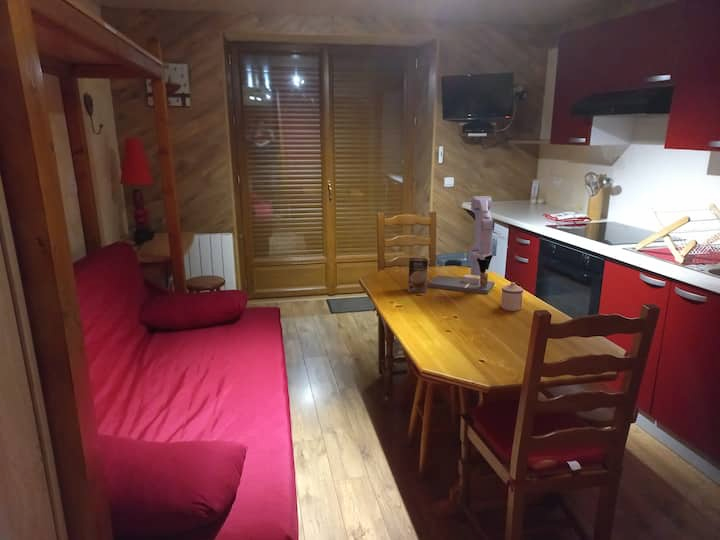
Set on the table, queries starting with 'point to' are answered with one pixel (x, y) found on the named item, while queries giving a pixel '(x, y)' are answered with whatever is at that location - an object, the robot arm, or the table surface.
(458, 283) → the subfloor board
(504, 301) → the teacup with lid
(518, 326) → the table surface
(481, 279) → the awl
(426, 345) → the table surface
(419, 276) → the coffee box
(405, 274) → the table surface
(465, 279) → the stud finder
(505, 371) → the table surface
